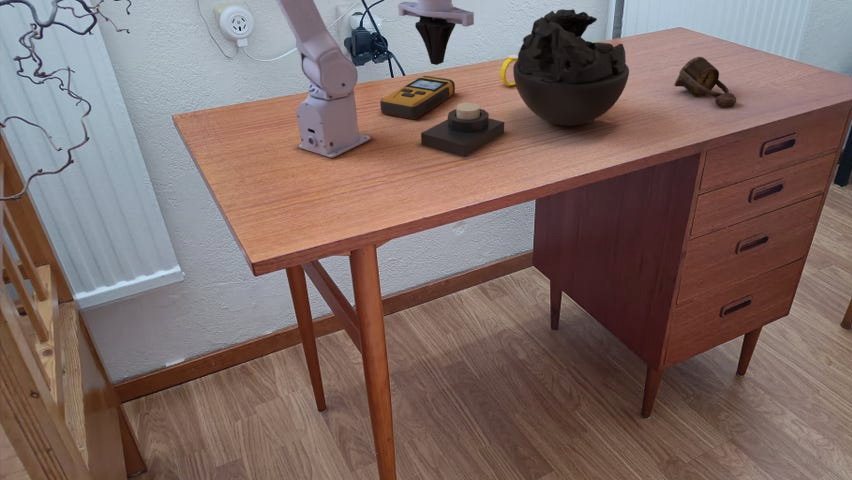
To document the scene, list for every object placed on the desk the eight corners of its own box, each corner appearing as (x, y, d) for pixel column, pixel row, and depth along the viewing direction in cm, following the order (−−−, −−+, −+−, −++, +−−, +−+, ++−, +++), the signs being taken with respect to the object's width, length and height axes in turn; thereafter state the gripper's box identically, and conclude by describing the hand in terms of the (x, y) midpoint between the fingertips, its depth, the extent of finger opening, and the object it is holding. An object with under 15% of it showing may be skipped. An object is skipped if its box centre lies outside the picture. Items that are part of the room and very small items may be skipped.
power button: (471, 122, 110) (471, 112, 109) (451, 117, 112) (451, 108, 111) (484, 115, 113) (484, 105, 112) (465, 110, 115) (465, 101, 114)
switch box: (464, 157, 107) (464, 134, 105) (421, 145, 111) (420, 122, 109) (504, 133, 115) (504, 111, 113) (462, 123, 119) (462, 101, 117)
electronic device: (378, 115, 123) (376, 98, 121) (420, 89, 135) (419, 73, 133) (416, 122, 120) (415, 104, 118) (457, 95, 132) (456, 78, 130)
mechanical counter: (722, 59, 133) (677, 50, 131) (753, 73, 122) (704, 63, 120) (710, 95, 136) (666, 86, 134) (738, 111, 125) (690, 102, 123)
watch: (506, 89, 134) (506, 60, 131) (497, 86, 136) (498, 57, 133) (528, 83, 137) (529, 55, 134) (519, 80, 139) (520, 52, 136)
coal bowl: (578, 96, 131) (586, -4, 120) (646, 129, 116) (661, 18, 106) (491, 114, 123) (492, 9, 112) (552, 152, 108) (559, 35, 98)
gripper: (484, -20, 107) (484, 64, 114) (414, -29, 114) (419, 51, 121) (458, -13, 102) (460, 74, 110) (387, -23, 109) (394, 60, 116)
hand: (437, 63), depth 115 cm, fingers closed
